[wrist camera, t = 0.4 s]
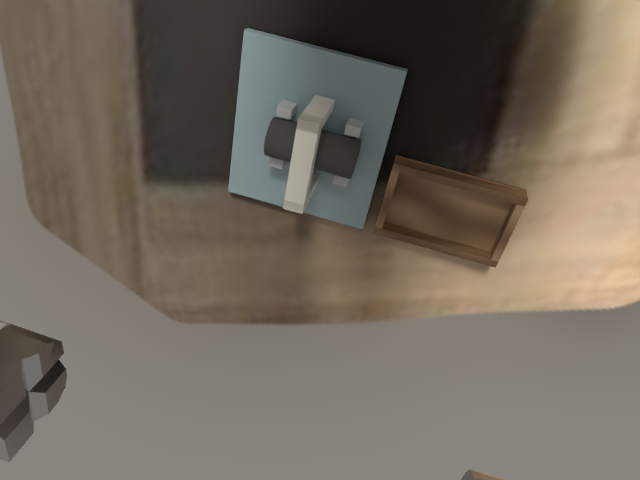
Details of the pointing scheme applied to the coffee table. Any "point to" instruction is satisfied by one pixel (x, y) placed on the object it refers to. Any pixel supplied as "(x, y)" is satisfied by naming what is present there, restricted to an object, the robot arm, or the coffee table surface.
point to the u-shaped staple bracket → (306, 154)
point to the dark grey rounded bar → (332, 151)
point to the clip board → (290, 101)
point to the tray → (449, 211)
